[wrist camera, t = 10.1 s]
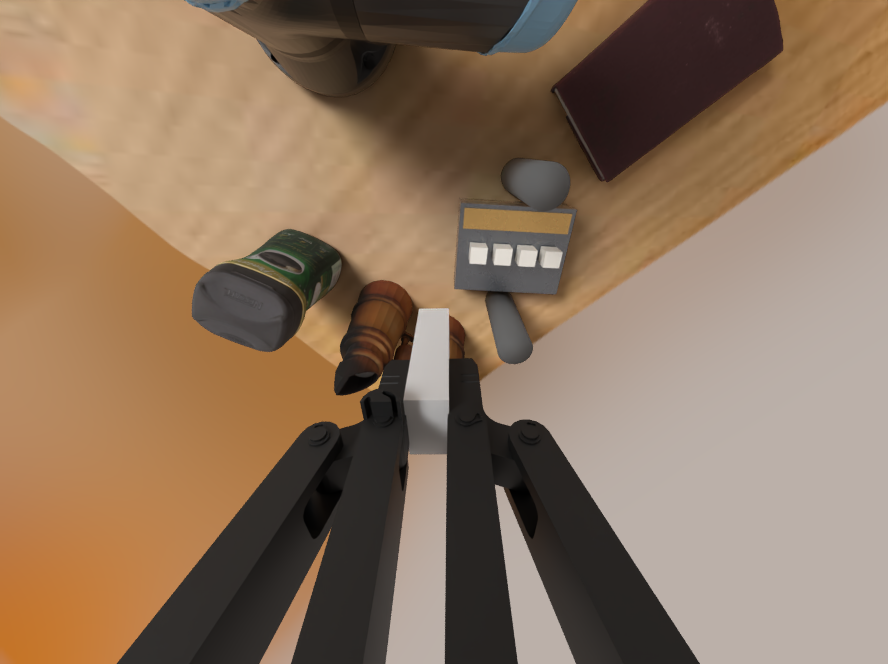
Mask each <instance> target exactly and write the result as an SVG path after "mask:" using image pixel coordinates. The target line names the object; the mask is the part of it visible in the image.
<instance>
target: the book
mask: <svg viewBox="0 0 888 664" xmlns="http://www.w3.org/2000/svg"><path fill="white" fill-rule="evenodd" d="M782 51H783V39H782V34H781V27H780V20H779V15H778V11H777V8H776V5H775V2H774V0H648V1H647V2H646V3H645V4H644V5H643V6H642V7H640V8H639V9H638V10H637V11H636V12H635V13H634V14H633V15H632V16H631V17H630V18H628V19H627V20H626V21H625V22H624V23H623V24H622V25H621V26H620V27H619V28H618V29H617V30H615V31H614V32H613V33H612V34H611V35H610V36H609V37H608V38H607V39H606V40H604V41H603V42H602V43H601V44H600V45H599V46H598V47H597V48H596V49H595V50H593V51H592V52H591V53H590V54H589V55H588V56H587V57H586V58H585V59H584V60H582V61H581V62H580V63H579V64H578V65H577V66H576V67H575V68H573V69H572V70H571V71H570V72H569V73H568V74H567V75H565V76H564V77H563V78H562V79H561V80H560V81H559V82H557V83H556V84H555V85H554V86H553V88H552V89H551V92H552V93H554V92H555V93H556V94H557V96H558V98H559V100H560V102H561V104H562V106H563V107H564V109H565V111H566V113H567V116H566V119H567V121H568V123H569V124H570V126H571V128H572V130H573V132H574V134H575V136H576V138H577V140H578V142H579V144H580V146H581V148H582V149H583V151H584V153H585V154H586V156H587V159H588V161H589V163H590V164H591V166H592V168H593V170H594V171H595V173H596V175H597V177H598V178H599V179H600V180H601V181H604V180H606V182H609V181H610V180H612V179H613V178H615V177H616V176H617V175H618V174H620V173H621V172H622V171H624V170H625V169H626V168H628V167H629V166H630V165H632V164H633V163H634V162H636V161H637V160H638V159H640V158H641V157H642V156H644V155H645V154H646V153H648V152H649V151H650V150H652V149H653V148H654V147H656V146H657V145H658V144H660V143H661V142H662V141H664V140H665V139H666V138H668V137H669V136H670V135H672V134H673V133H674V132H676V131H677V130H678V129H679V128H681V127H682V126H683V125H685V124H686V123H687V122H689V121H690V120H691V119H693V118H694V117H695V116H697V115H698V114H699V113H701V112H702V111H703V110H705V109H706V108H707V107H709V106H710V105H712V104H713V103H714V102H716V101H717V100H718V99H720V98H721V97H722V96H723V95H725V94H726V93H727V92H729V91H730V90H731V89H733V88H734V87H735V86H737V85H738V84H739V83H741V82H742V81H743V80H745V79H746V78H747V77H749V76H750V75H752V74H753V73H754V72H756V71H757V70H759V69H760V68H761V67H763V66H764V65H766V64H767V63H768V62H769V61H771V60H772V59H773V58H774V57H776V56H777V55H778V54H779V53H781V52H782Z"/></svg>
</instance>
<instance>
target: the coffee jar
mask: <svg viewBox="0 0 888 664" xmlns="http://www.w3.org/2000/svg"><path fill="white" fill-rule="evenodd" d="M341 266H342V262H341V258H340V256H339V254H338V252H337V251H336V250H335V249H334V248H332V247H331V246H329V245H328V244H326V243H324V242H322V241H321V240H319V239H317V238H315V237H312V236H310V235H308V234H305V233H303V232H300V231H296V230H292V229H286V230H283V231H281V232H279V233H277V234H276V235H274V236H273V237H272V238H271V239H269V240H268V241H267V242H266V243H265V244H264V245H262V246H261V247H260V248H258V249H257V250H256V251H254V252H253V253H252V254H250V255H248V256H246V257H244V258H241V259H237V260H231V261H226V262H223V263H220V264H218V265H216V266H215V267H214V268H213V269H211V270H210V271H209V272H207V273H206V274H205V275H204V276H203V277H202V278H201V279H200V280H199V281H198V283H197V284H196V287H195V290H194V294H193V300H192V317H193V319H194V320H196V321H197V322H198V323H199V324H200V325H201V326H203V327H204V328H205V329H207V330H208V331H210V332H212V333H214V334H216V335H218V336H221V337H223V338H225V339H228V340H230V341H233V342H235V343H238V344H241V345H244V346H247V347H250V348H253V349H256V350H259V351H265V352H272V351H275V350H277V349H279V348H280V347H282V346H283V345H284V344H285V343H286V342H287V341H288V340H289V339H290V338H292V337H293V336H294V335H295V334H296V333H297V331H298V330H299V328H300V327H301V325H302V322H303V320H304V317H305V313H306V311H307V310H308V309H309V308H310V307H311V306H312V305H314V304H315V303H316V302H317V301H319V300H320V299H321V298H322V297H324V296H325V295H326V294H327V293H328V292H329V291H330V290H331V289H332V288H333V287H334V286H335V284H336V282H337V280H338V278H339V275H340V272H341Z"/></svg>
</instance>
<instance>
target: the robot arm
mask: <svg viewBox="0 0 888 664" xmlns="http://www.w3.org/2000/svg"><path fill="white" fill-rule="evenodd" d="M184 1H187V2H188V3H189V4H191V5H192V6H195V7H199V8H202V9H204V10H206V11H208V12H210V13H212V14H213V15H215V16H217V17H219V18H220V19H222V20H224V21H226V22H228V23H229V24H231V25H233V26H235V27H236V28H238V29H240V30H242V31H243V32H245V33H247V34H249V35H251V36H252V37H254V38H256V39H257V41H258V42H259V44H260V45H261V47H262V48H263V50H264V51H265V53H266V54H267V56H268V57H269V58H270V59H271V61H272V62H273V63H274V64H275V65H276V66H277V67H278V68H279V69H280V70H281V71H282V72H283V73H284V74H285V75H287V76H288V77H289V78H290V79H292V80H293V81H294V82H296V83H297V84H299V85H301V86H303V87H305V88H307V89H309V90H311V91H314V92H316V93H319V94H322V95H326V96H332V97H344V96H350V95H353V94H356V93H359V92H361V91H363V90H364V89H366V88H368V87H369V86H370V85H372V84H373V83H374V82H375V81H376V80H377V79H378V78H379V77H380V75H381V74H382V73H383V71H384V70H385V68H386V67H387V65H388V63H389V61H390V59H391V57H392V54H393V52H394V49H395V45H396V44H400V45H410V46H421V47H431V48H441V49H452V50H462V51H472V52H478V53H479V54H481V55H485V56H487V55H493V54H495V53H497V52H512V53H527V52H530V51H533V50H536V49H538V48H540V47H541V46H543V45H544V44H546V43H547V42H548V41H549V40H550V39H551V38H552V37H553V36H554V35H555V34H556V33H557V31H558V30H559V29H560V27H561V26H562V25H563V23H564V22H565V20H566V19H567V17H568V16H569V14H570V13H571V11H572V9H573V7H574V6H575V4H576V2H577V0H184ZM360 403H361V409H362V413H363V418H364V420H363V421H361V422H360V423H358V424H355V425H352V426H349V427H345V428H341V429H339V428H338V427H337V425H336V424H334V423H331V422H319V423H315V424H313V425H311V426H309V427H308V428H306V429H305V430H304V431H303V432H302V433H301V434H300V435H299V437H298V438H297V439H296V440H295V442H294V443H293V444H292V446H291V447H290V448H289V449H288V450H287V452H286V453H285V454H284V455H283V457H282V458H281V459H280V460H279V462H278V463H277V464H276V465H275V467H274V468H273V469H272V470H271V472H270V473H269V474H268V475H267V477H266V478H265V479H264V480H263V482H262V483H261V484H260V485H259V487H258V488H257V489H256V490H255V492H254V493H253V494H252V495H251V497H250V498H249V499H248V500H247V502H246V503H245V504H244V505H243V507H242V508H241V509H240V510H239V512H238V513H237V514H236V515H235V517H234V518H233V519H232V520H231V522H230V523H229V524H228V526H227V527H226V528H225V529H224V530H223V532H222V533H221V534H220V535H219V537H218V538H217V539H216V540H215V542H214V543H213V544H212V545H211V547H210V548H209V549H208V550H207V552H206V553H205V554H204V555H203V557H202V558H201V559H200V560H199V562H198V563H197V564H196V565H195V567H194V568H193V569H192V570H191V572H190V573H189V574H188V575H187V577H186V578H185V579H184V580H183V582H182V583H181V584H180V585H179V587H178V588H177V589H176V590H175V592H174V593H173V594H172V595H171V597H170V598H169V599H168V600H167V602H166V603H165V604H164V605H163V607H162V608H161V609H160V610H159V612H158V613H157V614H156V615H155V617H154V618H153V619H152V620H151V622H150V623H149V624H148V625H147V627H146V628H145V629H144V630H143V632H142V633H141V634H140V635H139V637H138V638H137V639H136V640H135V642H134V643H133V644H132V645H131V647H130V648H129V649H128V650H127V652H126V653H125V654H124V655H123V657H122V658H121V659H120V660H119V662H118V663H117V664H259V663H260V661H261V659H262V657H263V655H264V653H265V652H266V650H267V648H268V646H269V644H270V642H271V640H272V639H273V637H274V635H275V633H276V631H277V629H278V627H279V625H280V623H281V622H282V620H283V618H284V616H285V614H286V612H287V610H288V608H289V607H290V604H291V602H292V600H293V599H294V597H295V595H296V593H297V591H298V590H299V588H300V585H301V584H302V582H303V580H304V578H305V576H306V574H307V573H308V571H309V569H310V567H311V565H312V563H313V561H314V559H315V558H316V556H317V554H318V552H319V550H320V548H321V546H322V544H323V542H324V541H325V539H326V537H327V535H328V533H329V531H330V529H331V532H330V535H329V539H328V542H327V545H326V548H325V552H324V555H323V558H322V562H321V566H320V568H319V572H318V575H317V579H316V582H315V585H314V588H313V592H312V595H311V599H310V602H309V605H308V609H307V612H306V615H305V619H304V622H303V626H302V629H301V632H300V635H299V639H298V642H297V645H296V649H295V652H294V655H293V659H292V662H291V664H385V662H386V653H387V645H388V635H389V628H390V620H391V611H392V603H393V594H394V586H395V578H396V570H397V561H398V553H399V544H400V536H401V528H402V519H403V510H404V503H405V494H406V485H407V477H408V468H409V467H408V451H409V452H410V454H447V503H446V505H447V508H446V512H447V513H446V603H445V607H446V608H445V609H446V612H445V664H518V662H517V654H516V647H515V638H514V630H513V623H512V616H511V607H510V599H509V591H508V584H507V576H506V569H505V560H504V553H503V545H502V537H501V530H500V522H499V514H498V506H497V498H496V490H495V484H496V485H499V486H502V487H504V490H505V493H506V495H507V497H508V500H509V502H510V505H511V507H512V510H513V512H514V514H515V517H516V519H517V521H518V524H519V527H520V528H521V531H522V533H523V536H524V539H525V541H526V543H527V545H528V548H529V550H530V553H531V556H532V558H533V560H534V563H535V565H536V568H537V570H538V572H539V575H540V577H541V580H542V582H543V585H544V587H545V589H546V592H547V594H548V597H549V599H550V601H551V604H552V606H553V609H554V611H555V614H556V616H557V618H558V621H559V623H560V625H561V628H562V630H563V633H564V635H565V638H566V640H567V642H568V645H569V647H570V650H571V652H572V655H573V657H574V659H575V662H576V664H700V663H699V662H698V660H697V659H696V657H695V656H694V654H693V653H692V651H691V649H690V648H689V646H688V645H687V643H686V642H685V640H684V639H683V637H682V636H681V634H680V632H679V631H678V630H677V628H676V626H675V625H674V623H673V622H672V620H671V619H670V617H669V616H668V614H667V612H666V611H665V609H664V608H663V606H662V605H661V603H660V602H659V600H658V599H657V597H656V595H655V594H654V593H653V591H652V589H651V588H650V586H649V585H648V583H647V582H646V580H645V579H644V577H643V576H642V574H641V572H640V571H639V569H638V568H637V566H636V565H635V563H634V562H633V560H632V559H631V557H630V555H629V554H628V552H627V551H626V550H625V548H624V546H623V545H622V543H621V542H620V540H619V539H618V537H617V535H616V534H615V532H614V531H613V529H612V528H611V526H610V525H609V523H608V522H607V520H606V519H605V517H604V515H603V514H602V512H601V511H600V509H599V508H598V506H597V505H596V503H595V502H594V500H593V498H592V497H591V495H590V494H589V492H588V491H587V489H586V488H585V486H584V485H583V483H582V482H581V480H580V479H579V477H578V475H577V474H576V472H575V471H574V469H573V468H572V466H571V465H570V463H569V462H568V460H567V458H566V457H565V455H564V454H563V452H562V451H561V449H560V448H559V446H558V445H557V443H556V442H555V440H554V438H553V437H552V435H551V434H550V432H549V431H548V430H547V429H546V428H545V427H544V426H543V425H541V424H540V423H538V422H536V421H532V420H519V421H517V422H514V423H513V424H512V425H511V426H507V425H504V424H500V423H497V422H495V421H493V420H492V419H490V418H489V417H488V416H487V415H486V414H485V412H484V410H483V405H482V397H481V389H480V383H479V373H478V366H477V364H476V363H475V362H474V360H473V359H472V358H458V359H450V349H449V308H436V309H419V313H418V319H417V324H416V330H415V336H414V341H413V347H412V353H411V359H410V360H391V361H390V362H389V363H388V364H387V365H386V366H385V367H384V370H383V374H382V378H381V381H380V385H379V388H378V389H375V390H373V391H370V392H368V393H367V394H366V395H365V396H363V398H362V399H361V401H360ZM331 527H332V528H331Z"/></svg>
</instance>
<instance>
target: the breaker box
mask: <svg viewBox="0 0 888 664" xmlns="http://www.w3.org/2000/svg"><path fill="white" fill-rule="evenodd" d="M576 212H577V209H575V208H573V207H570V206H568V205H564V204H560V205H559V206H558V207H556V208H555V209H553V210H550V211H537V210H535V209H533V208H532V207H530V206H529V205H527V204H526V203H524V202H512V201H494V200H477V199H460V202H459V216H458V230H457V244H456V258H455V272H454V289H465V290H484V291H503V292H522V293H540V294H556V293H557V289H558V285H559V281H560V277H561V273H562V269H563V265H564V261H565V257H566V253H567V249H568V244H569V240H570V236H571V232H572V228H573V224H574V220H575V216H576ZM470 242H475V243H486V245H487V247H488V251H487V260H486V264H470V263H469V247H470ZM494 244H510V246H511V247H512V249H513V252H512V258H511V265H510V266H504V265H494V264H493V261H492V253H493V245H494ZM517 245H529V246H534V247H535V248H536V249H537V251H538V253H537V258H536V263H535V267H523V266H518V265H517V263H516V261H515V256H516V250H517ZM541 246H547V247H557V248H558V249H560V250H561V251H562V252H563V254H562V258H561V262H560V266H559V268H543V267H542V266H541V265H540V264H539V262H538V259H539V254H540V249H541Z"/></svg>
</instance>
